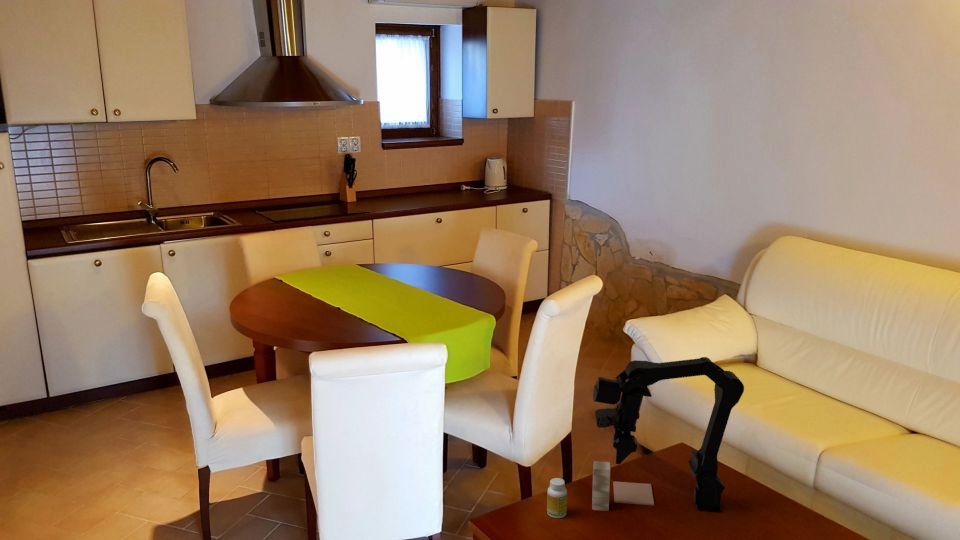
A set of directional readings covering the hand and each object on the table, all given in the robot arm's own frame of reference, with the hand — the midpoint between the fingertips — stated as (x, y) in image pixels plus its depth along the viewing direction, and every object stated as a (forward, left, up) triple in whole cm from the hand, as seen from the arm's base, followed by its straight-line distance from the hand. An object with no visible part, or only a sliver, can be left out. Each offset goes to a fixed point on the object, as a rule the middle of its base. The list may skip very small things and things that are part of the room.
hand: (616, 454), depth 203 cm
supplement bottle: (+16, +9, -15) cm, 23 cm away
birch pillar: (+4, +3, -14) cm, 15 cm away
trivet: (-5, -5, -14) cm, 16 cm away
